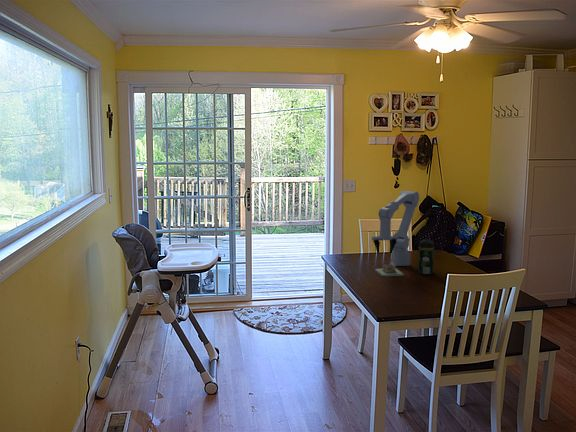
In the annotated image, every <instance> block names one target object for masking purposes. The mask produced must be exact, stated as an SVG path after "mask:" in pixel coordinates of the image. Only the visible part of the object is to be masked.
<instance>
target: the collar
mask: <svg viewBox="0 0 576 432" xmlns="http://www.w3.org/2000/svg"><path fill="white" fill-rule="evenodd" d="M389 264H390V265H391V266H389V267H388V265H389ZM389 264H383V266H382V267H383V268H382V269H383V270H384V271H385V272H395V270H396V269H397V268H396V267H397V266H394V265H393V264H391V263H389Z"/></svg>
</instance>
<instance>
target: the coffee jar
mask: <svg viewBox="0 0 576 432" xmlns="http://www.w3.org/2000/svg"><path fill="white" fill-rule="evenodd" d="M418 244H419V246H418V264H417V265H418V266H417V267H418V269H417V270H418V273H419V275H423V276H424V275H425V276H427V275H432V274H433V272H434V253H435V252H434V251H435V242H434V241H433V240H432V239H427V238H424V239H422V240H420V241H419V243H418Z"/></svg>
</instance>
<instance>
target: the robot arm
mask: <svg viewBox="0 0 576 432" xmlns="http://www.w3.org/2000/svg"><path fill="white" fill-rule="evenodd" d="M419 201H420V193H419V192H418V191H413V190H411V191H410V190H409V191H408V190H402V191H401V192H400V194H399V196H398V197H397V198H396V199H395V200H391V201H390V202H389V203H388V204H387V205H385V206H384V207H380V208H379V209H378V212H377V213H378V214H377V215H378V217H379V218H378V219H379V221H380V222H379V225H380V226H379V235H375V236H372V237H371V241H372V243H373V244H374V246H375V250H376V253H377V254H380V245H381V241H389V253H391V254H392V261H389V264H393V265H394V266H395V267H401V266H402V267H406V266H410V260H411V257H410V256H411V255H410V251H409V246H410V237H409V236H408V232H409V230H410V229H409V228H410V226H411V222H412V219H413V216H414V213H415V211H416V208H417V207H418V204H419ZM402 205H403V206H404V207H405V209H404V213H403V215H402V219H401V222H400V225H399V228H398V229H397V230H398V231H397V232H395V233H394V234H393V235H391V228H392V227H391V224H392V223H391V221H392V218H393V217H394V215H395V212H397V211H398V210H399V209H400V206H402Z"/></svg>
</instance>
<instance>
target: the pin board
mask: <svg viewBox="0 0 576 432" xmlns="http://www.w3.org/2000/svg"><path fill="white" fill-rule="evenodd" d="M390 264H391V263H389V264H387V265H388V267H389V266H391V265H390ZM375 272H376V273H378V275H380V276H381V277H403V276H404V275H405V274H404V273H403V272H402V271H400V269H399V268H396V270H395V272H385V271H384V270H383V268H375Z"/></svg>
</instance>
